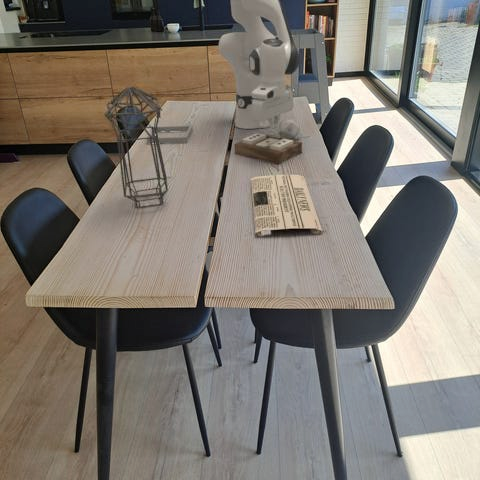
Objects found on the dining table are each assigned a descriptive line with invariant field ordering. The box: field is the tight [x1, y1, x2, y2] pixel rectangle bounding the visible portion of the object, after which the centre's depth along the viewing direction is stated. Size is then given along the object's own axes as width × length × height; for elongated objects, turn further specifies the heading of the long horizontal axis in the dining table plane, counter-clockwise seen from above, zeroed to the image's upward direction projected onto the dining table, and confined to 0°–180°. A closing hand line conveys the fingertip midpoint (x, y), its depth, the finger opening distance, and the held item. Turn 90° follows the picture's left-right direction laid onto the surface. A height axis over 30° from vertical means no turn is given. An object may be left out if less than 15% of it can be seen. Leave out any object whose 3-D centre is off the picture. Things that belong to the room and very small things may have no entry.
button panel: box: [233, 134, 303, 166], centre depth 175 cm, size 15×21×4 cm
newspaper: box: [250, 174, 323, 238], centre depth 136 cm, size 37×19×3 cm, turn 1°
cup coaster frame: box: [146, 125, 194, 144], centre depth 198 cm, size 17×17×2 cm
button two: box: [270, 139, 294, 151], centre depth 170 cm, size 9×4×3 cm, turn 140°
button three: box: [242, 132, 267, 145], centre depth 178 cm, size 9×4×3 cm, turn 140°
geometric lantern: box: [103, 85, 169, 209], centre depth 135 cm, size 16×16×35 cm
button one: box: [256, 138, 279, 148], centre depth 174 cm, size 9×4×3 cm, turn 140°
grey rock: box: [276, 118, 301, 141], centre depth 187 cm, size 8×9×10 cm
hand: (273, 127), depth 168 cm, fingers closed
